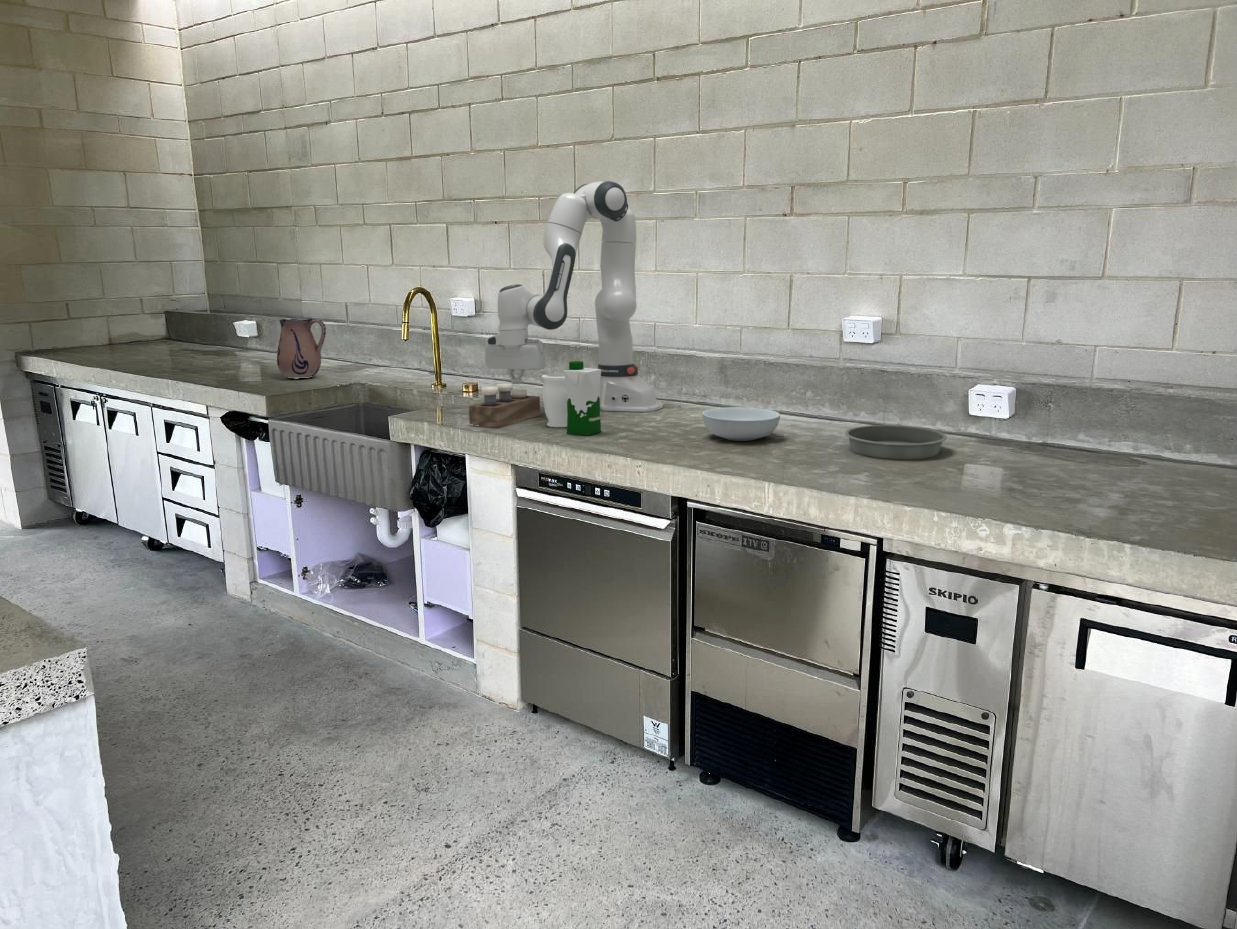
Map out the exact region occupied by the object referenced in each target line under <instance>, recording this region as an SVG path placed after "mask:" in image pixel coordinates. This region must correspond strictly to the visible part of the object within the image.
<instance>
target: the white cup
mask: <svg viewBox="0 0 1237 929" xmlns="http://www.w3.org/2000/svg"><path fill="white" fill-rule="evenodd" d="M541 379H542V381H543V385H542V392H541V393H542V394H541V395H542V396H541V397H542V403H543V406H544V413H545V417H546V418H547V419H548V421H547V423H546V426H547V427H550V428H567V385H566V380H565V375H564V372H562V373H561V372H560V373H559V372H558V373H555V372H554V373H547V374H543V375H541Z"/></svg>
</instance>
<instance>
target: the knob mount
mask: <svg viewBox="0 0 1237 929" xmlns="http://www.w3.org/2000/svg"><path fill="white" fill-rule="evenodd" d="M540 397H541V396H539V395H527V397H525V398H524V399H514V398H513V397H512V395H511V402H509V403H504V402H499V397H498V398H496V401H497V406H494V407H490V406H484V401H483V402H479V403H475V404H471V405H469V406H468V416H469V425H470V424H473V425H479V426H485V427H484V428H490V427H492V428H493V429H499V428H502V427H506V426H510V425H513V424H515V423H519V422H523V421H527V420H530V419H533V418H535V417H540V416H541V402H540V401H541V399H540Z"/></svg>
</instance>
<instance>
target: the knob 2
mask: <svg viewBox="0 0 1237 929" xmlns="http://www.w3.org/2000/svg"><path fill="white" fill-rule="evenodd" d="M527 390H528V389H520V388H518V389H513V390H512V391H511V395H512V397H513V398H514V399H524V398H525V397H527V396H528V391H527Z"/></svg>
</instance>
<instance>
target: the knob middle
mask: <svg viewBox="0 0 1237 929" xmlns="http://www.w3.org/2000/svg"><path fill="white" fill-rule="evenodd" d="M513 385H514V384H512V383H511V382H498V383H496V386H497V387H498V398H499V402H504V403H509V402H511V391H512V390H514V388H513V387H514V386H513Z"/></svg>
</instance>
